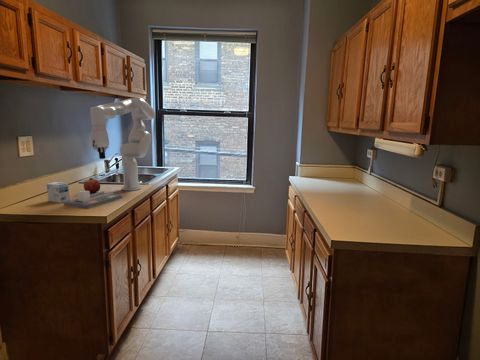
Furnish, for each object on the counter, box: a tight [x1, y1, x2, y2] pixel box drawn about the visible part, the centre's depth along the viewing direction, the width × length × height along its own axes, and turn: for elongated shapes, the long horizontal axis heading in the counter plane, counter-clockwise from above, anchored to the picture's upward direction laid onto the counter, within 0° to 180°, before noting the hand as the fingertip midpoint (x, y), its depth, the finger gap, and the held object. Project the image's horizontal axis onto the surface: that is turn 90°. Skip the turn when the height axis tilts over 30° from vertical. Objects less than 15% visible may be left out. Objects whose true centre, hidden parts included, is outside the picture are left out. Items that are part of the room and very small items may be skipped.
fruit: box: [83, 177, 101, 194], centre depth 211 cm, size 11×10×10 cm
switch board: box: [63, 191, 123, 209], centre depth 189 cm, size 26×18×4 cm
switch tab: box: [76, 190, 91, 201], centre depth 182 cm, size 4×5×5 cm
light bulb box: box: [46, 181, 71, 204], centre depth 189 cm, size 11×7×11 cm, turn 66°
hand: (102, 158), depth 195 cm, fingers closed
